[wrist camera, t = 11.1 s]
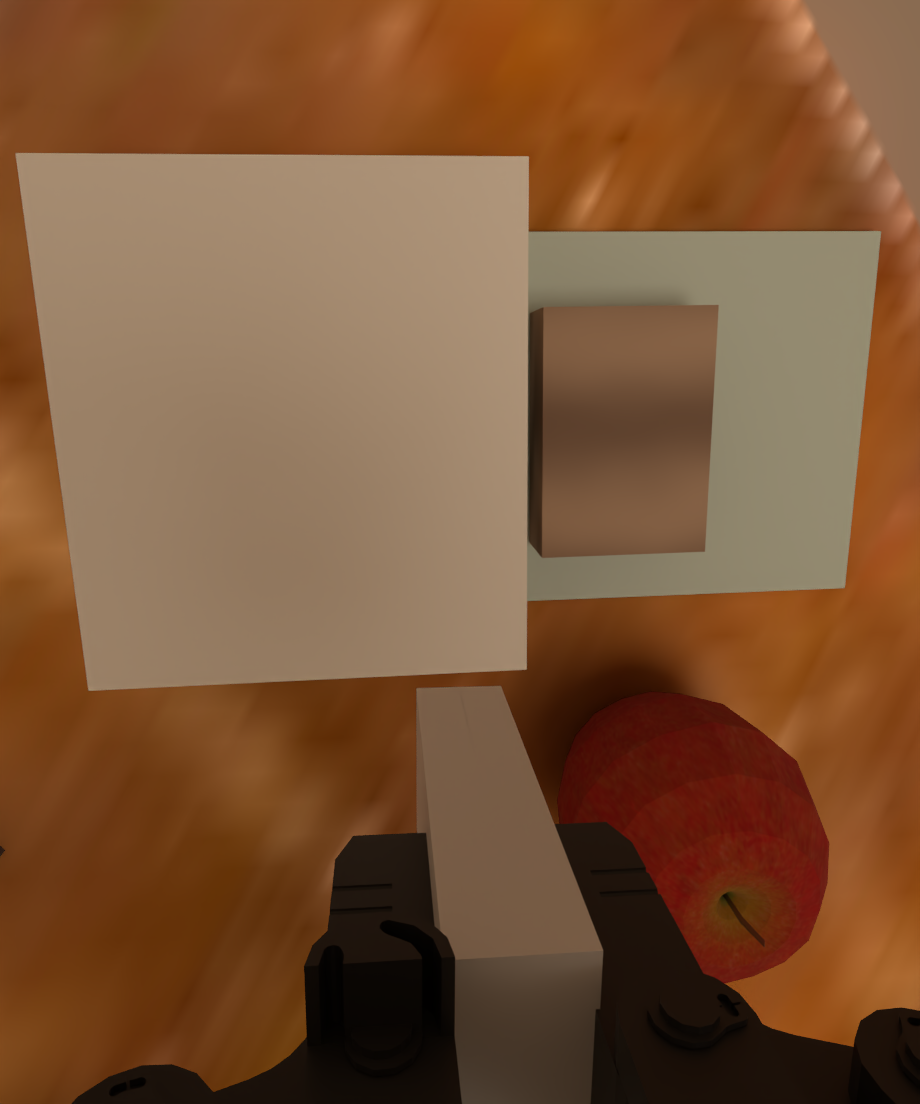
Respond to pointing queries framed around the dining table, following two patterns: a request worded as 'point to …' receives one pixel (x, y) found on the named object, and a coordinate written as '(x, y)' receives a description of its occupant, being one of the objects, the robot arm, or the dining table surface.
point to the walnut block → (620, 428)
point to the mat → (737, 398)
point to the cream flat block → (287, 410)
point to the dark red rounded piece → (706, 824)
